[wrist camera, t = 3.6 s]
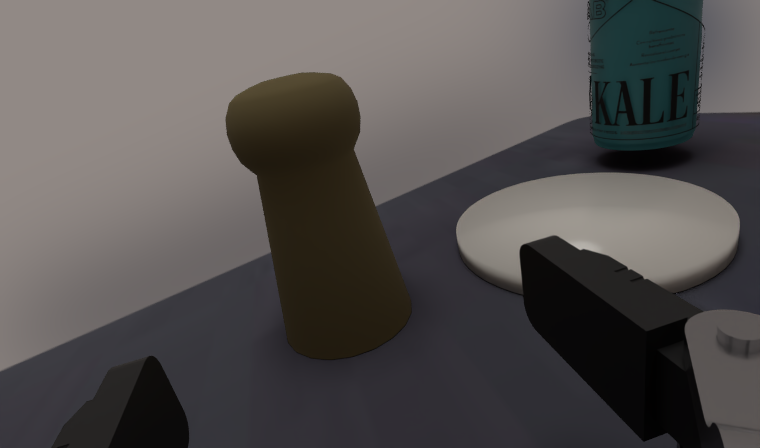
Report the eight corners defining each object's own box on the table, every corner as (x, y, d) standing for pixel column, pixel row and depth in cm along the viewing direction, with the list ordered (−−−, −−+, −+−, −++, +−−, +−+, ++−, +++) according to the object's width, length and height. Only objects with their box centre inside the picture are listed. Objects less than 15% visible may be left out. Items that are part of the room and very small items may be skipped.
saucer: (536, 339, 17) (534, 318, 17) (427, 224, 29) (425, 210, 29) (819, 244, 19) (823, 223, 18) (607, 172, 31) (606, 158, 30)
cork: (274, 313, 23) (196, 95, 19) (379, 269, 25) (330, 63, 21) (306, 381, 18) (208, 99, 14) (436, 319, 20) (385, 55, 15)
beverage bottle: (651, 139, 35) (658, -180, 28) (724, 157, 29) (758, -245, 21) (572, 158, 35) (558, -159, 27) (629, 181, 29) (630, -220, 21)
